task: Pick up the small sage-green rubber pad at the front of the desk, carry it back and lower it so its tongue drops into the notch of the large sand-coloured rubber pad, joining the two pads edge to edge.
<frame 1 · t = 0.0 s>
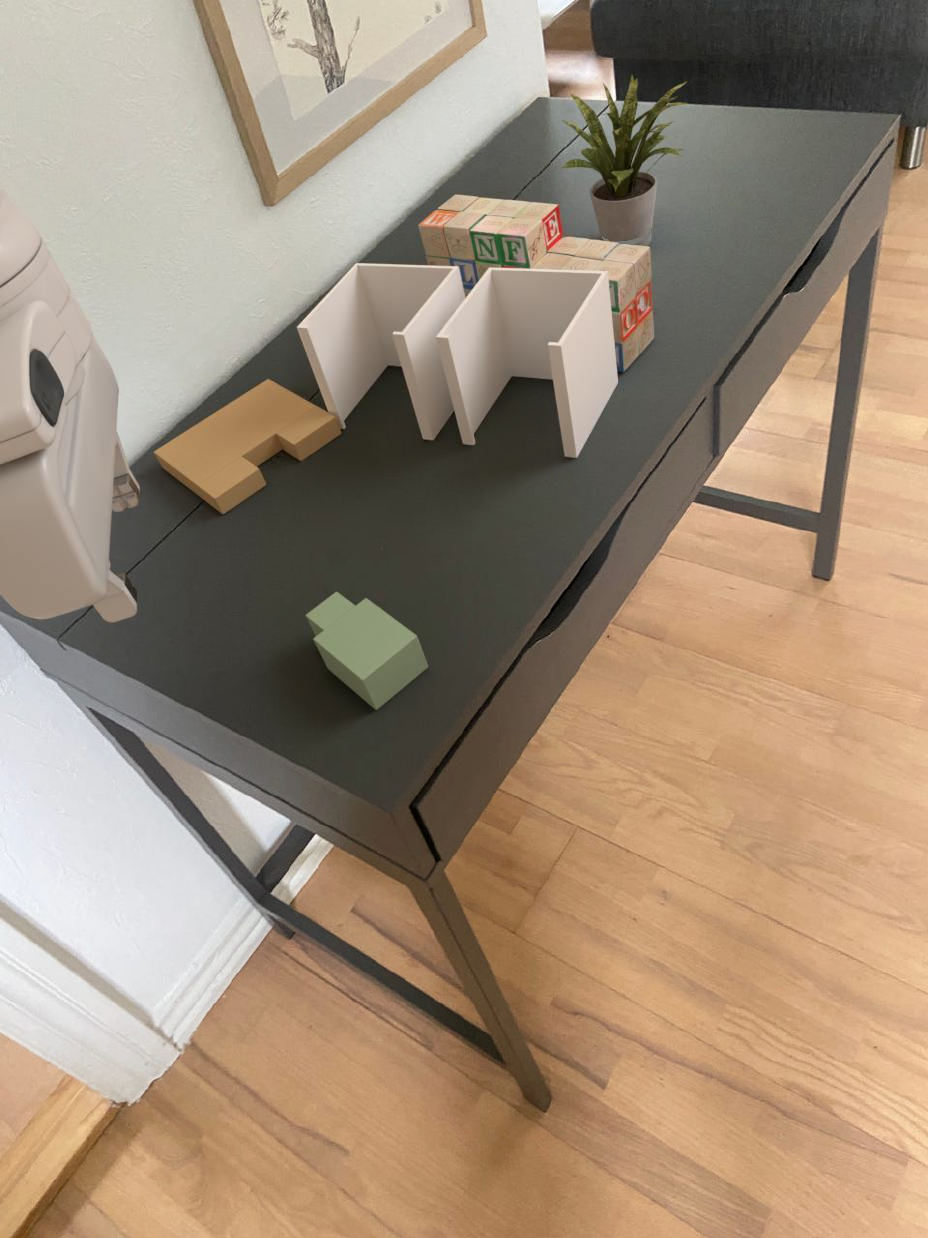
hand: (126, 552, 51), 19 cm above the table, tool pointing down, fingers open, 8 cm apart
sage pad: (377, 668, 67), on the table
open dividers: (473, 407, 87), on the table
sand pad: (250, 450, 89), on the table
house plant: (634, 248, 100), on the table
stack of blocks: (546, 339, 92), on the table
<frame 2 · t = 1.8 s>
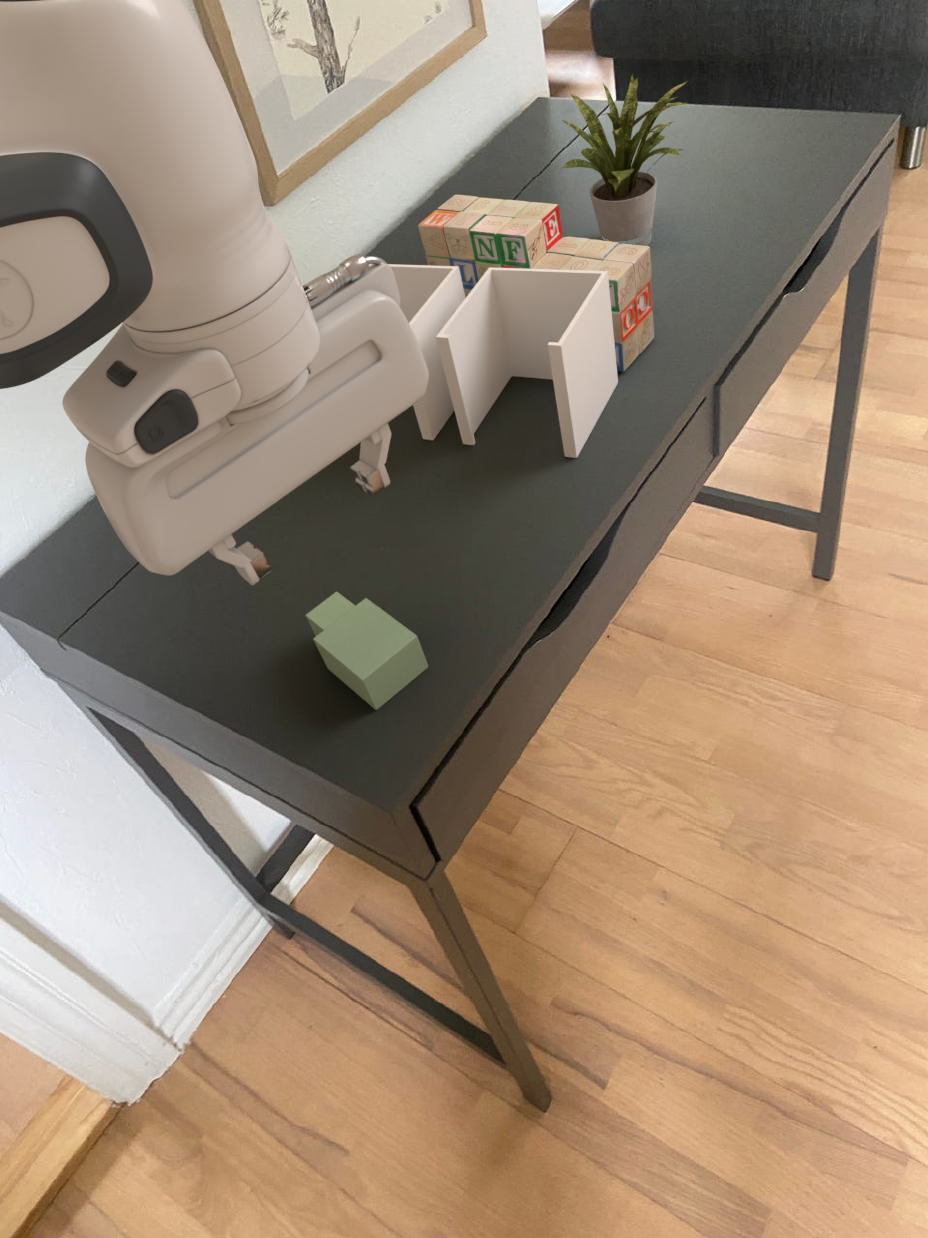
hand: (317, 529, 57), 14 cm above the table, tool pointing down, fingers open, 8 cm apart
nothing on the table moved.
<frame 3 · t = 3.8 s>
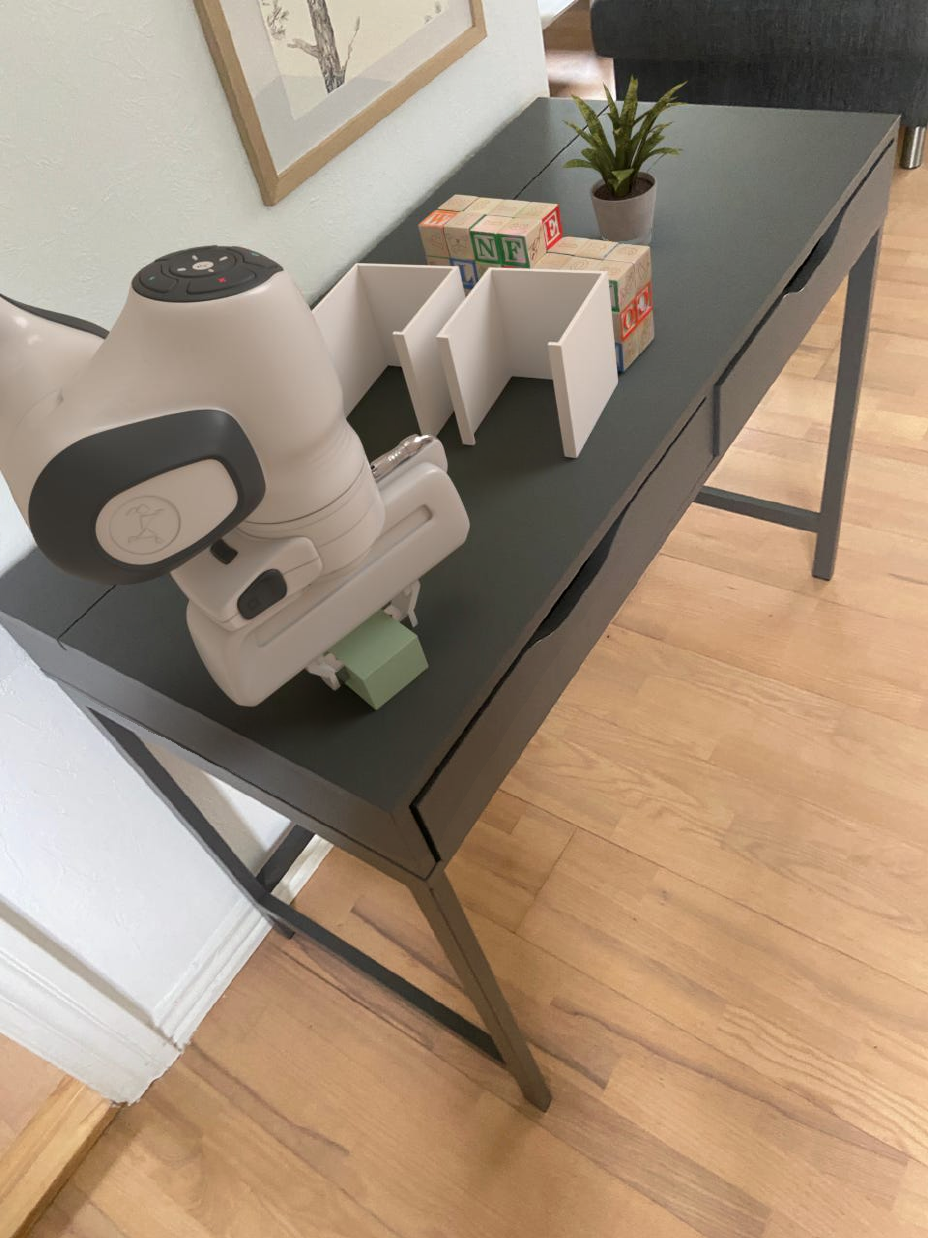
hand: (370, 653, 66), 2 cm above the table, tool pointing down, fingers closed on sage pad, 5 cm apart
sage pad: (377, 667, 67), on the table, touching gripper
everything else where it was.
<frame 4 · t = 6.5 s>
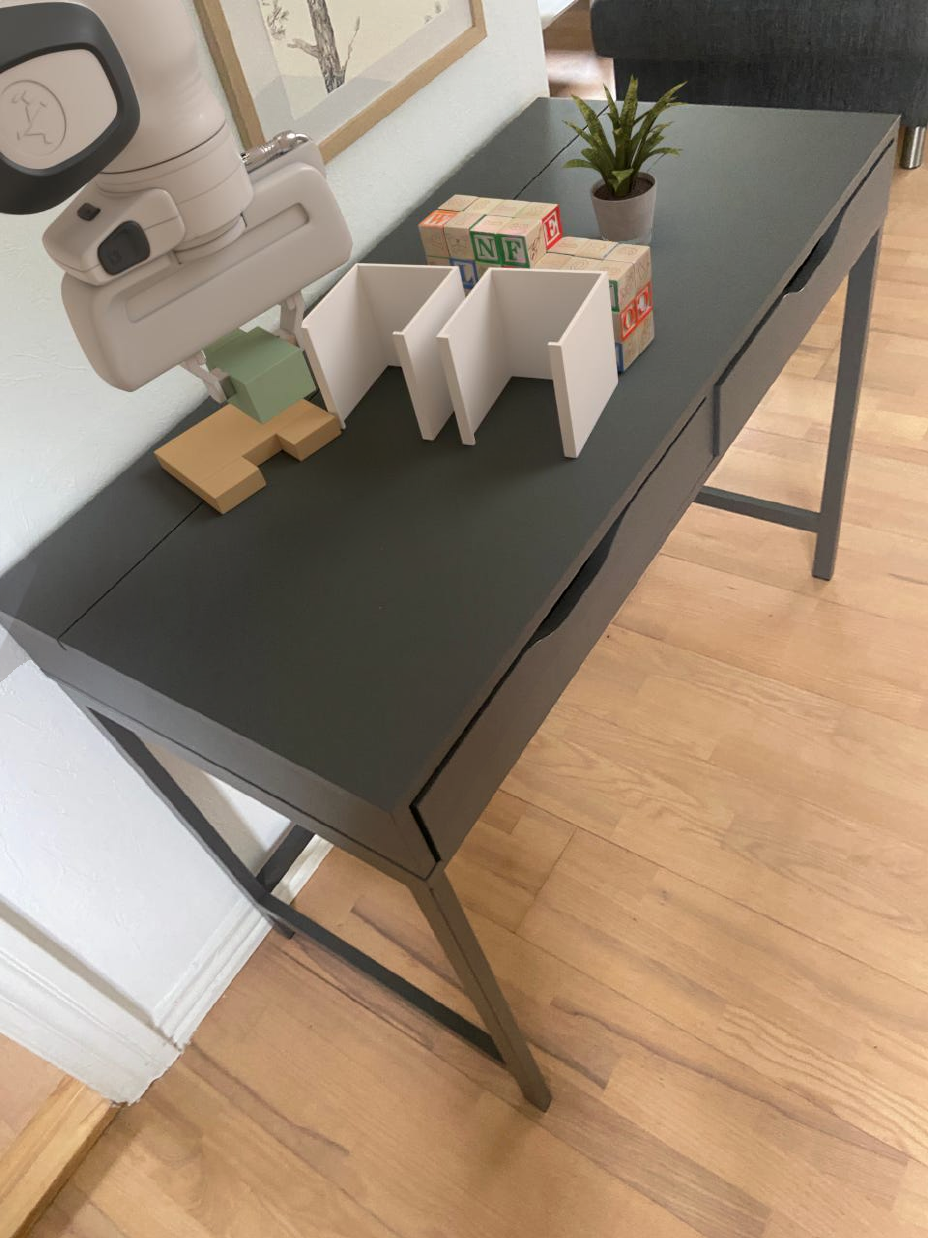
hand: (259, 374, 67), 16 cm above the table, tool pointing down, fingers closed on sage pad, 5 cm apart
sage pad: (268, 394, 69), point 14 cm above the table, touching gripper
everything else where it was.
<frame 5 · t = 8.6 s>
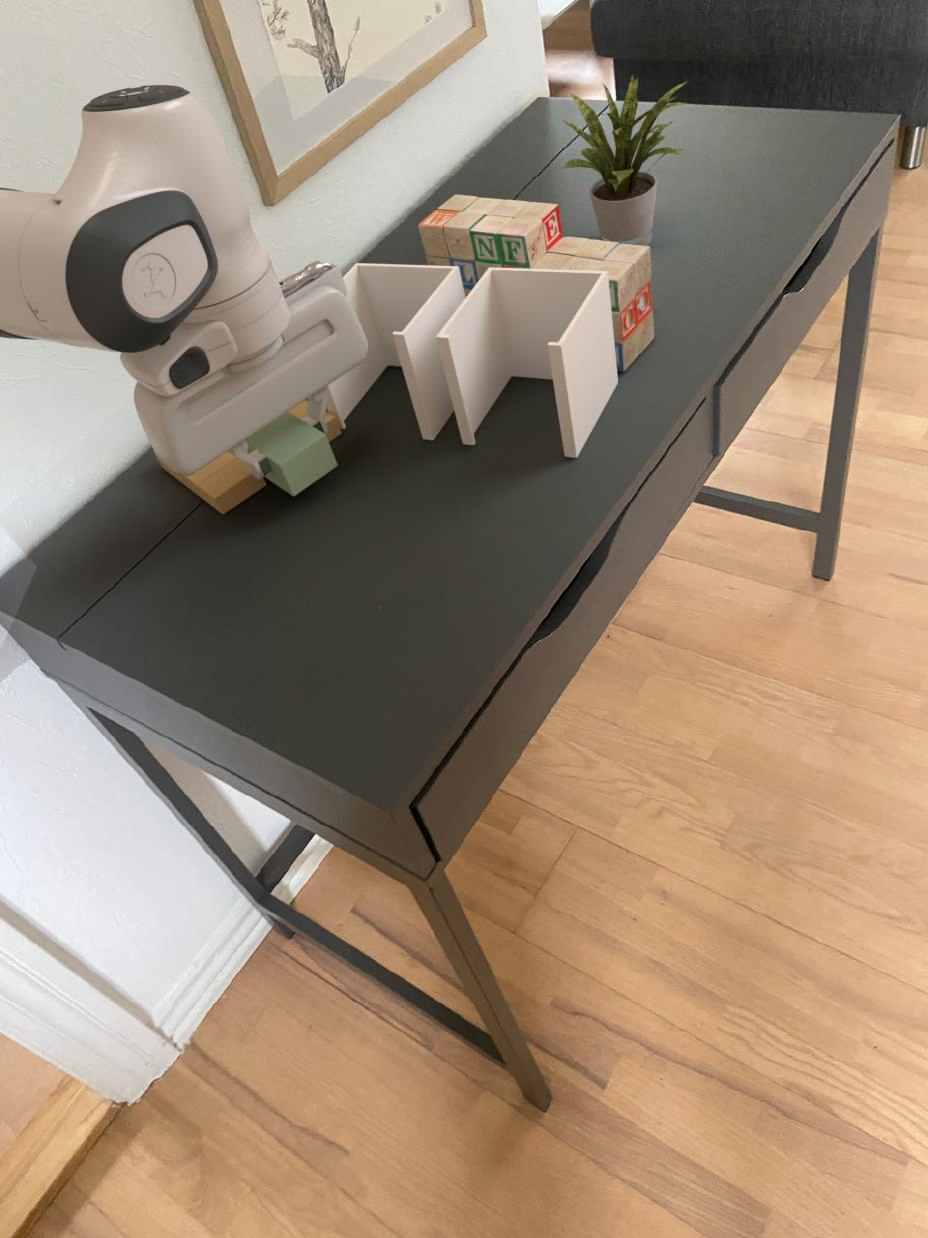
hand: (290, 453, 81), 4 cm above the table, tool pointing down, fingers closed on sage pad, 5 cm apart
sage pad: (297, 468, 82), point 2 cm above the table, touching gripper
everything else where it was.
when the fingers open (2 cm above the table, at t = 9.7 s): sage pad stays where it is, on the table.
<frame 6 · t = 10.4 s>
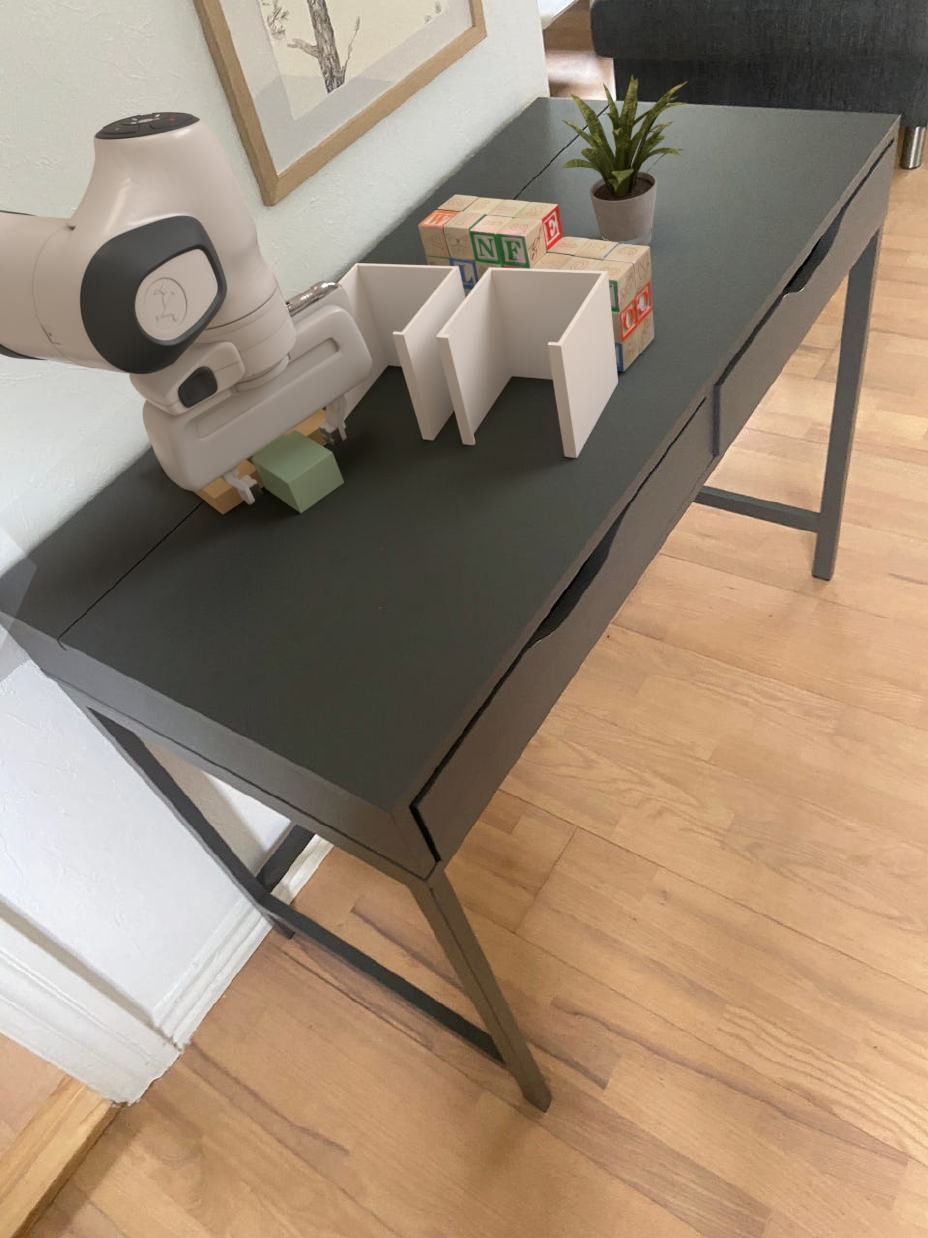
hand: (295, 468, 82), 2 cm above the table, tool pointing down, fingers open, 8 cm apart
sage pad: (304, 485, 83), on the table
everything else where it was.
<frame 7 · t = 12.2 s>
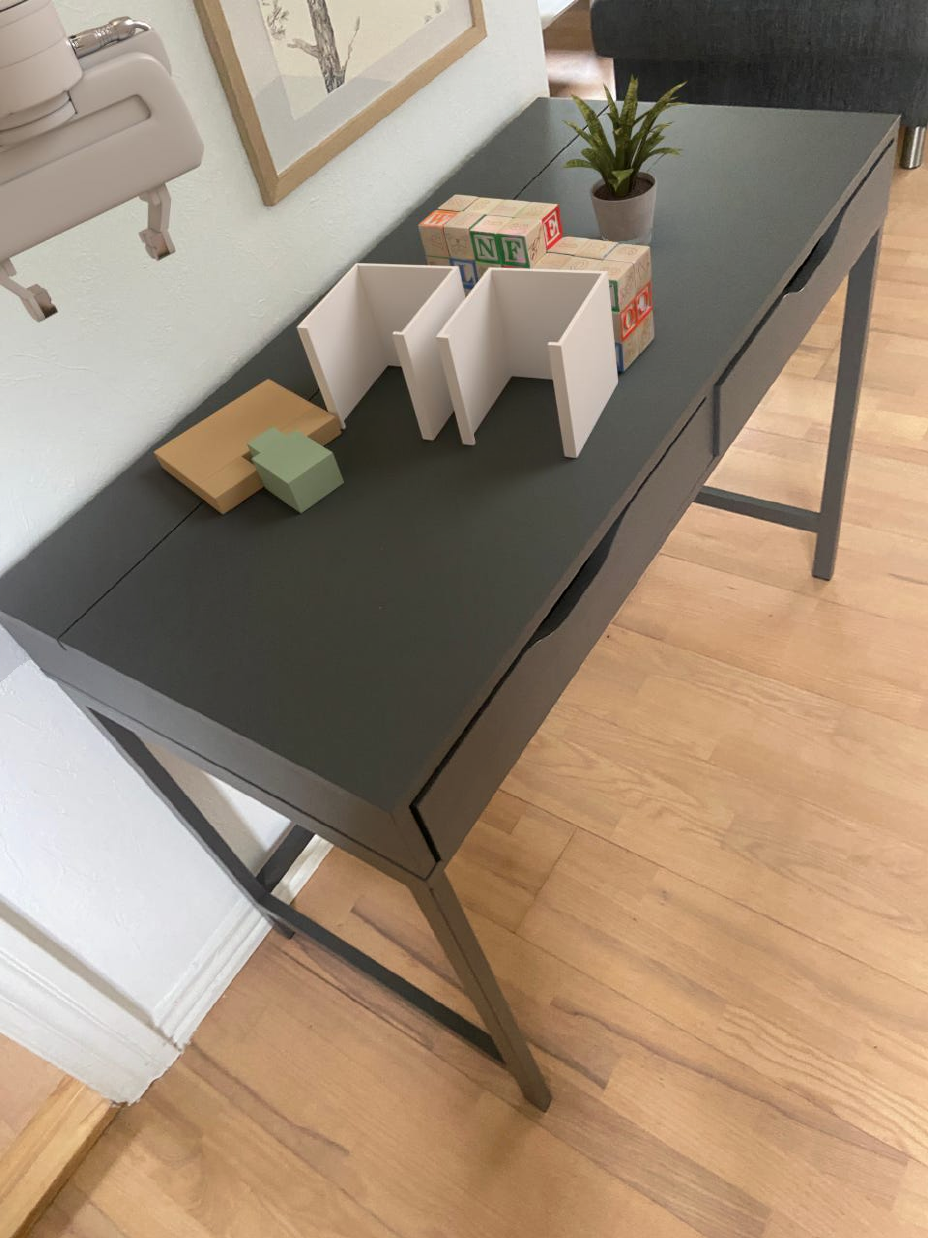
hand: (105, 284, 64), 24 cm above the table, tool pointing down, fingers open, 8 cm apart
nothing on the table moved.
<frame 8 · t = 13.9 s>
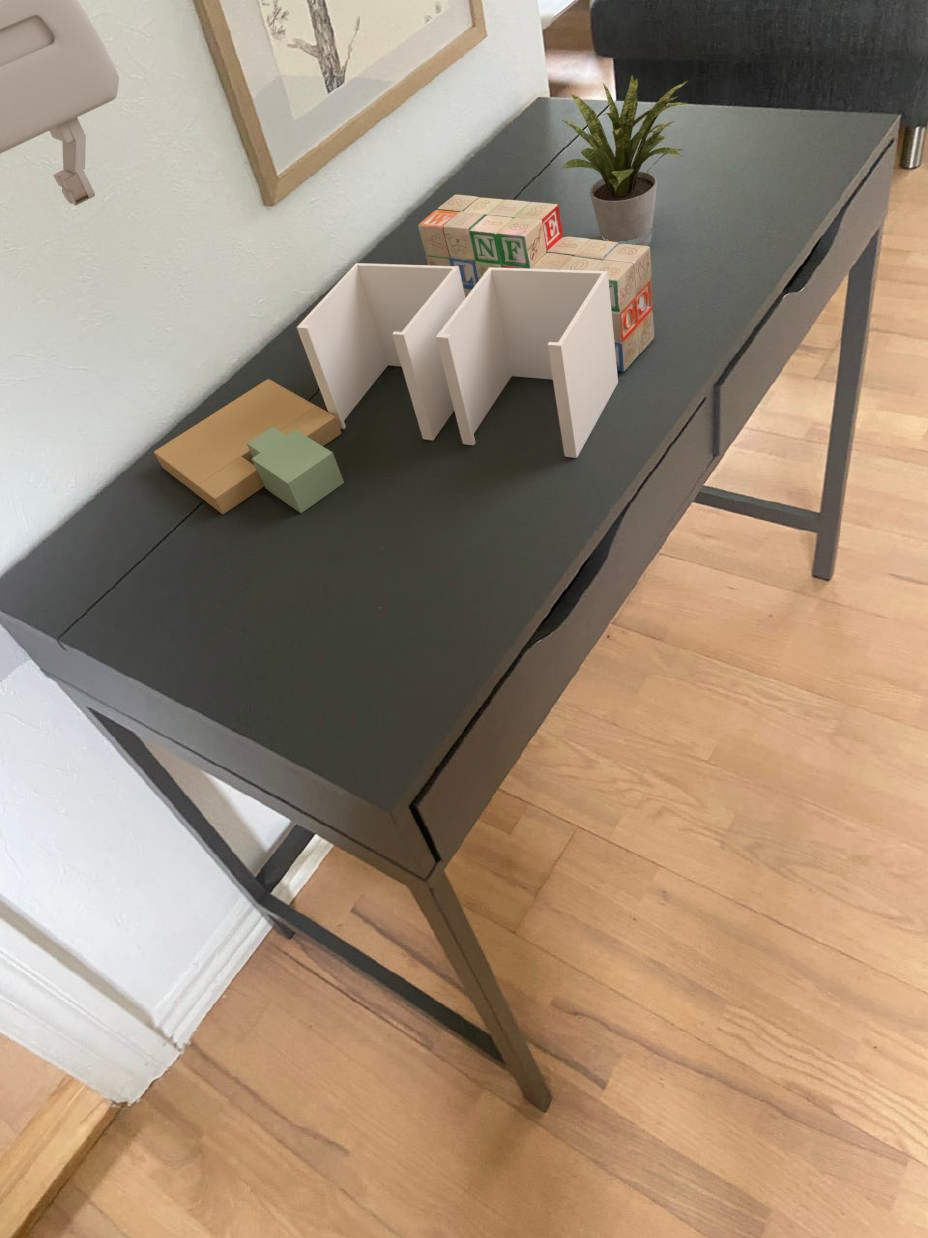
hand: (18, 232, 59), 29 cm above the table, tool pointing down, fingers open, 8 cm apart
nothing on the table moved.
at the end: sage pad 0.2 cm from the target spot on the table beside the sand pad, on the table; sage pad tilted 0°; sage pad moved 24.3 cm from its start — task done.
